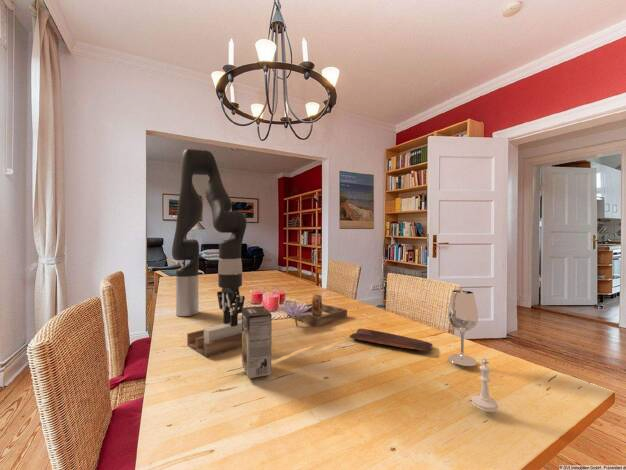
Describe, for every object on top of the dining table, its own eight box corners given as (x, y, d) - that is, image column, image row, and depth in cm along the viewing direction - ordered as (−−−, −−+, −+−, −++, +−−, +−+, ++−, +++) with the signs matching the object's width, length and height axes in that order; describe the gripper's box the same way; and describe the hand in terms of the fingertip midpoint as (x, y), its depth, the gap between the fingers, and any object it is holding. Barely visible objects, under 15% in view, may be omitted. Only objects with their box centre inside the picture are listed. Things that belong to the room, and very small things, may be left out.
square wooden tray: (287, 317, 130) (287, 309, 130) (316, 309, 143) (316, 302, 143) (318, 327, 117) (318, 318, 117) (347, 317, 130) (347, 309, 130)
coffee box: (241, 364, 84) (241, 307, 84) (263, 360, 86) (263, 305, 86) (247, 379, 76) (247, 315, 75) (272, 374, 78) (272, 313, 78)
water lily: (319, 322, 123) (319, 300, 123) (306, 334, 109) (306, 309, 109) (286, 319, 128) (286, 298, 128) (270, 330, 114) (270, 306, 114)
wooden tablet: (434, 339, 99) (429, 346, 90) (433, 346, 99) (429, 353, 90) (358, 327, 112) (348, 332, 104) (358, 333, 112) (347, 338, 103)
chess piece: (467, 398, 67) (467, 354, 67) (488, 397, 67) (488, 353, 67) (480, 412, 62) (481, 363, 62) (503, 411, 62) (503, 363, 62)
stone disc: (319, 321, 124) (319, 297, 124) (310, 321, 125) (310, 297, 125) (323, 314, 135) (323, 292, 135) (315, 314, 135) (315, 292, 135)
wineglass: (474, 357, 89) (475, 290, 89) (480, 368, 82) (480, 295, 81) (446, 353, 91) (446, 288, 91) (448, 364, 84) (449, 293, 84)
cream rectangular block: (203, 347, 94) (203, 328, 93) (247, 335, 105) (247, 318, 105) (209, 350, 91) (208, 331, 91) (253, 337, 102) (253, 320, 102)
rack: (187, 345, 98) (187, 333, 98) (240, 331, 112) (240, 320, 112) (206, 357, 88) (206, 344, 88) (262, 340, 103) (262, 328, 103)
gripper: (209, 271, 100) (209, 322, 100) (231, 275, 90) (231, 332, 90) (229, 269, 106) (229, 318, 106) (252, 272, 96) (252, 326, 96)
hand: (230, 324), depth 98 cm, fingers open, 4 cm apart
